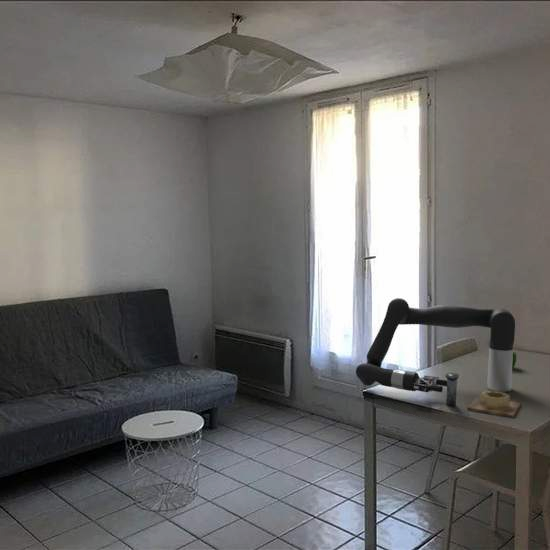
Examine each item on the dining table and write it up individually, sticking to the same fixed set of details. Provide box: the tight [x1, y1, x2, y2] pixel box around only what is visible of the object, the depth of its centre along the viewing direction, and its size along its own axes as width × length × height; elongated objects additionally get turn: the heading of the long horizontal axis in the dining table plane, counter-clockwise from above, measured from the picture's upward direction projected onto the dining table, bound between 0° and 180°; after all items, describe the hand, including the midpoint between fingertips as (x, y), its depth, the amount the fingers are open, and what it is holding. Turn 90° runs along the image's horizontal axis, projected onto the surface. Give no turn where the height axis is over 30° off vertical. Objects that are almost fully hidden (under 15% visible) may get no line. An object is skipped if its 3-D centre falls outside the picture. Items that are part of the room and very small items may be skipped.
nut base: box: [467, 390, 522, 419], centre depth 224 cm, size 16×16×5 cm
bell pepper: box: [512, 351, 517, 370], centre depth 279 cm, size 8×8×10 cm
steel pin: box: [445, 372, 460, 408], centre depth 226 cm, size 5×5×12 cm
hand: (445, 386), depth 227 cm, fingers open, 8 cm apart
